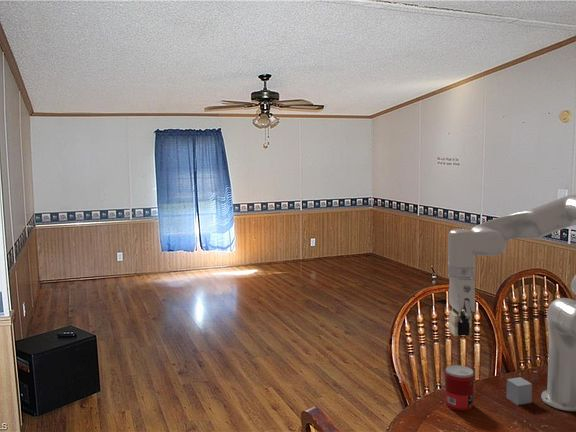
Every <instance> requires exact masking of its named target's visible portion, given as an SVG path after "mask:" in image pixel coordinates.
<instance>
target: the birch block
mask: <svg viewBox="0 0 576 432" xmlns="http://www.w3.org/2000/svg"><path fill="white" fill-rule="evenodd" d="M463 311H464V310H462V311H461V312H463ZM463 315H465V314H462V317H463ZM472 320H473V319H472V316H471V317H470V323H469V335H468V337H469V336H472V322H473V321H472ZM458 322H459V312H458V311H451V310H448V332H450V333H451V334H452V335H453V337H460V336H459V335H458Z"/></svg>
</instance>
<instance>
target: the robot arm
mask: <svg viewBox="0 0 576 432" xmlns="http://www.w3.org/2000/svg"><path fill="white" fill-rule="evenodd" d="M572 226H576V194H570V195H566V196H563V197H559V198H558V199H555V200H553V201H549V202H547V203H544V204H541V205H539V206H535V207H534V208H530V209H527V210H524V211H519V212H515V213H512V214H507V215H503V216H499V217H496V218H494V219H493V218H492V219H490V220H487V221H483V222H482V223H480V224H477V225H475V226H473V227H472V228H471V229H468V228H467V229H466V228H455V229H451V230H450V231H449V232H448V236H447V238H448V239H447V241H448V242H447V278H449V281H448V283H449V285H448V303H449V306H450V308H451V310H450V311H458V312H459V322H458V335H459V336H458V337H462V336H463V337H464V336H465V337H467V336H468V335H469V323H470V317H471V316H472V313H475V312H476V290H475V288H476V287H475V281H474V279H475V276H476V255H479V256H486V257H487V256H489V257H496V256H499V255H501V254H502V253H503V252H504V251H505V250H506V248H507V244H508V243H507V242H508V241H510V240H515V239H539V238H542V237H545V236H549V235H551V234H553V233H556V232H558V231H562V230H564V229H567V228H570V227H572ZM570 289H571V292H572V293H573V294H574V295H575V296H576V274H575V275H574V277H573V278H572V280H571V283H570ZM461 311H463V312H461ZM546 311H547V312H546V321H547V327H548V362H547V363H548V365H547V387H546V388H547V389H546V390H543V391H542V393H541V396H540V397H541V400H542V402H544V403H545V404H546V405H548V406H550V407H552V408H555V409H557V410H562V411H567V412H576V300H574V299H572V298H567V297H560V298H557V299H554V300H553V301H551V303H550V304H549V306H548V308H547V310H546ZM462 314H465V315H463V317H462ZM468 337H469V336H468Z"/></svg>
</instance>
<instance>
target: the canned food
mask: <svg viewBox="0 0 576 432" xmlns="http://www.w3.org/2000/svg"><path fill="white" fill-rule="evenodd" d="M444 374H445V381H444V383H445V384H444V385H445V388H444V389H445V391H444V392H445V395H444V397H445V405H446V406H447V407H448V408H449V409H452V410H455V411H462V412H463V411H464V412H466V411H469V410H471V409H472V408H473V406H474V381H475V380H474V377H475V376H474V375H475V374H474V370H473V369H472V368H471V367H468V366H465V365H460V364H459V365H457V364H456V365H455V364H454V365H453V364H452V365H449V366H446V367H445V373H444Z"/></svg>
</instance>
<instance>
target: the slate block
mask: <svg viewBox="0 0 576 432" xmlns="http://www.w3.org/2000/svg"><path fill="white" fill-rule="evenodd" d="M532 390H533V383H531V382H529V380H526V379H525V378H523V377H520V376H519V377H513V378H507V379H506V395H505V397H506V399H507V400H509V401H511V403H513V404H515V405H517V406H521V405H526V404H532V396H533V391H532Z"/></svg>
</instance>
